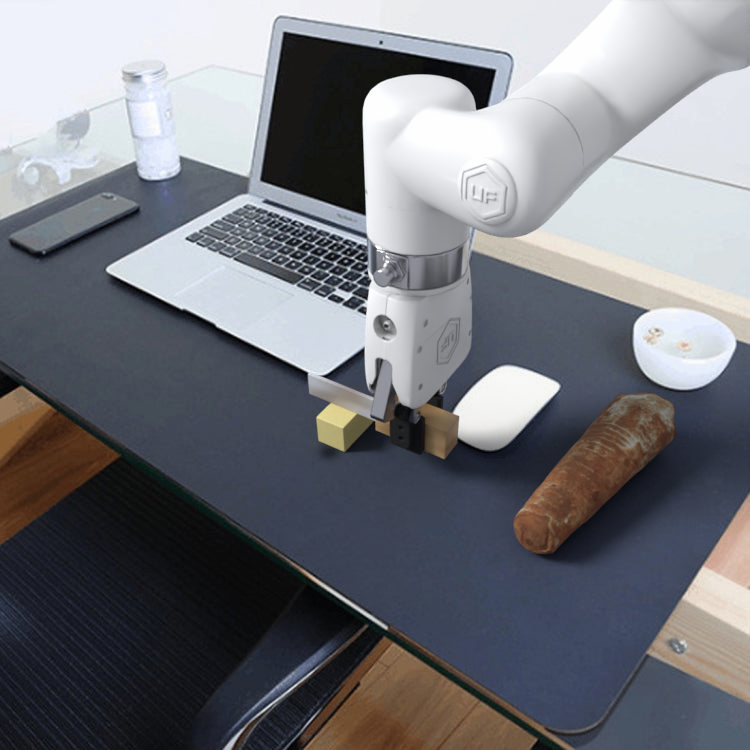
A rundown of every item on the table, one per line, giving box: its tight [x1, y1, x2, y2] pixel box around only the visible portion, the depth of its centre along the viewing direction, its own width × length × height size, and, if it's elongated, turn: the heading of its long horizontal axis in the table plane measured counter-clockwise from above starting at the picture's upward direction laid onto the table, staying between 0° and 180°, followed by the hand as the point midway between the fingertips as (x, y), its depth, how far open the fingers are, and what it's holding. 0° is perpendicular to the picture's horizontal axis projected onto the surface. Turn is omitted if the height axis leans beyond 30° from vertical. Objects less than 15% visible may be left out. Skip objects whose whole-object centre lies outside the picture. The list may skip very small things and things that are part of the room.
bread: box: [512, 391, 677, 555], centre depth 67 cm, size 6×19×6 cm, turn 135°
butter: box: [315, 402, 374, 453], centre depth 74 cm, size 5×3×3 cm, turn 148°
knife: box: [307, 371, 460, 460], centre depth 71 cm, size 15×2×3 cm, turn 58°
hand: (416, 435), depth 70 cm, fingers closed on knife, 2 cm apart
